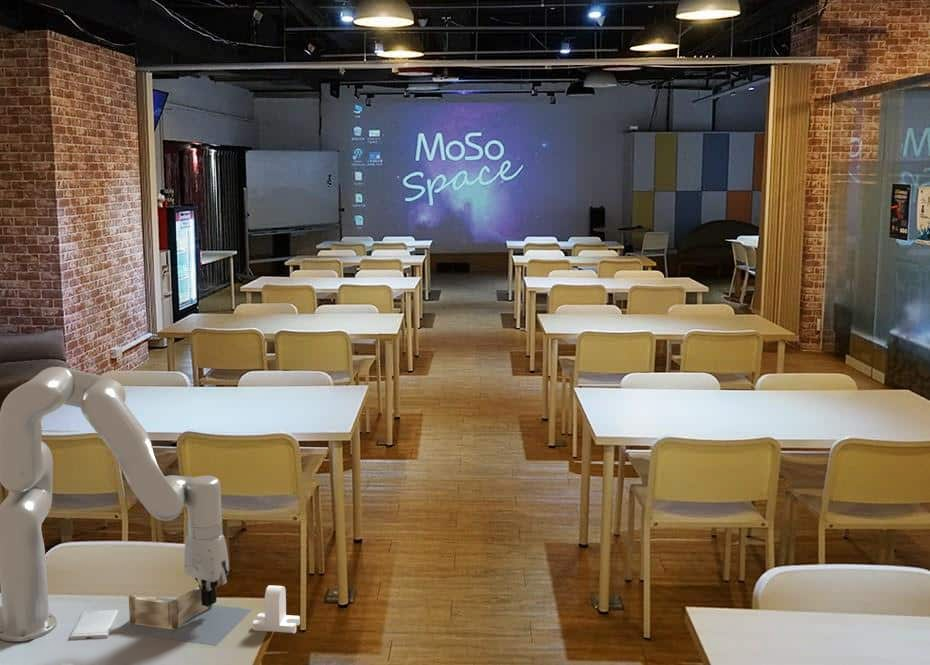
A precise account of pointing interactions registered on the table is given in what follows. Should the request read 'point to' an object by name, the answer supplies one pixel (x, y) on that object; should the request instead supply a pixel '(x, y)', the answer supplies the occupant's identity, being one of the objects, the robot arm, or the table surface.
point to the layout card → (194, 625)
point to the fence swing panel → (186, 607)
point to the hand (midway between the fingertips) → (209, 603)
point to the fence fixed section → (149, 611)
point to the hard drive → (94, 624)
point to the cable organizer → (276, 613)
